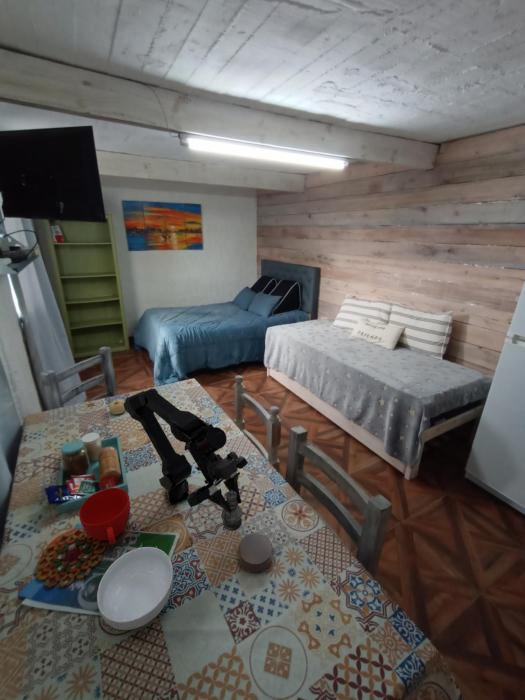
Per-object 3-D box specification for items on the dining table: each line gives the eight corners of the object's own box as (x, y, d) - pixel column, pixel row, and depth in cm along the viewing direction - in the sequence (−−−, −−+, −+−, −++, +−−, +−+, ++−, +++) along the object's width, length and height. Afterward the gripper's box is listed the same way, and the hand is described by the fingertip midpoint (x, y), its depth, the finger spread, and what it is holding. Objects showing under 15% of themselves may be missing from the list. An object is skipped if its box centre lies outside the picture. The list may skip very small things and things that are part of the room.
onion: (107, 411, 153) (105, 398, 151) (124, 405, 158) (122, 393, 156) (113, 418, 148) (110, 405, 145) (130, 412, 153) (128, 399, 150)
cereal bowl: (177, 627, 71) (174, 607, 68) (96, 654, 66) (89, 633, 64) (174, 556, 86) (172, 538, 83) (108, 574, 82) (103, 555, 79)
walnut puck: (249, 580, 80) (249, 571, 79) (233, 551, 87) (232, 542, 86) (278, 561, 85) (278, 552, 84) (260, 535, 92) (260, 527, 91)
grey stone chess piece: (234, 535, 85) (233, 502, 80) (217, 525, 88) (215, 492, 83) (246, 519, 90) (246, 487, 85) (230, 510, 92) (229, 478, 88)
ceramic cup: (89, 572, 82) (81, 545, 78) (84, 524, 95) (77, 499, 92) (141, 547, 88) (136, 521, 85) (129, 505, 102) (124, 481, 98)
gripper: (191, 469, 75) (225, 528, 73) (242, 432, 89) (273, 481, 87) (173, 479, 83) (204, 533, 81) (223, 444, 97) (251, 489, 94)
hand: (235, 507), depth 85 cm, fingers closed on grey stone chess piece, 3 cm apart
